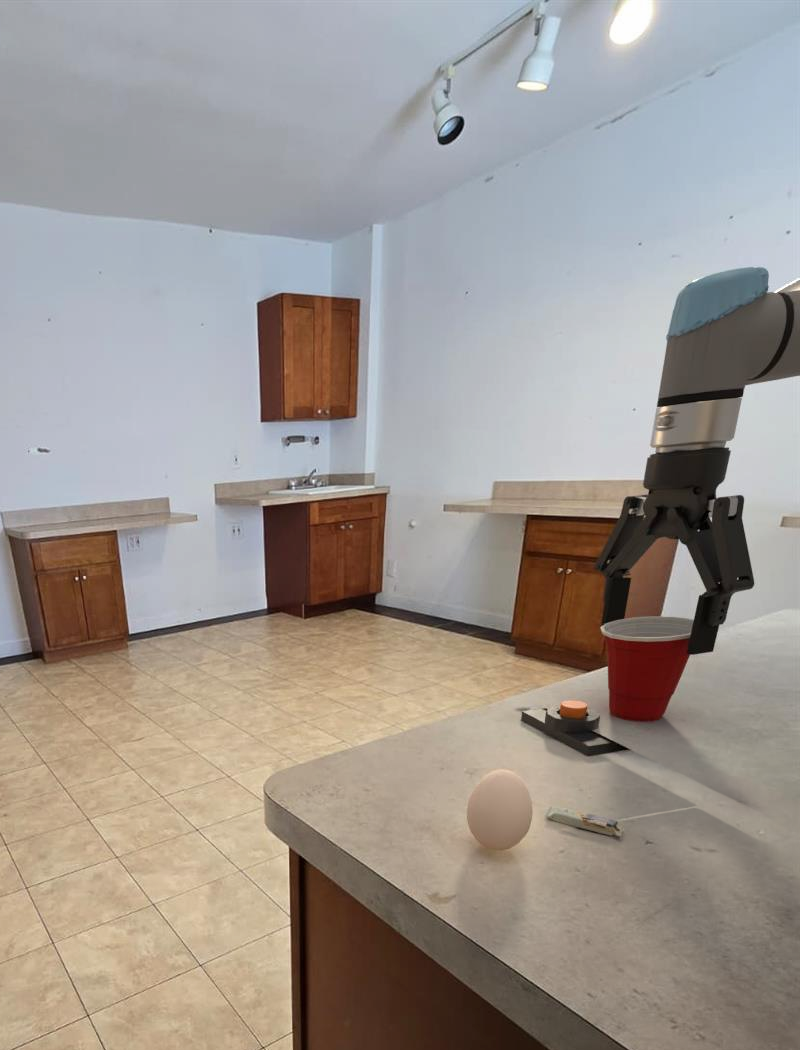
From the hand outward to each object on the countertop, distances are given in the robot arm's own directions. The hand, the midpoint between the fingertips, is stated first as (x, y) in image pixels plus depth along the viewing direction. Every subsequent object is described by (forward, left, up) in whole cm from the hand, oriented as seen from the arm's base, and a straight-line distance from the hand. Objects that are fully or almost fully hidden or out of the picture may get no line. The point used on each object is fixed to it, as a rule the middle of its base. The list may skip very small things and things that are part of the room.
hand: (652, 640), depth 78 cm
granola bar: (+23, +20, -11) cm, 32 cm away
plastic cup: (0, 0, -10) cm, 10 cm away
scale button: (+9, 0, -9) cm, 13 cm away
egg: (+33, +21, -12) cm, 41 cm away
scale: (+3, 0, -11) cm, 12 cm away
